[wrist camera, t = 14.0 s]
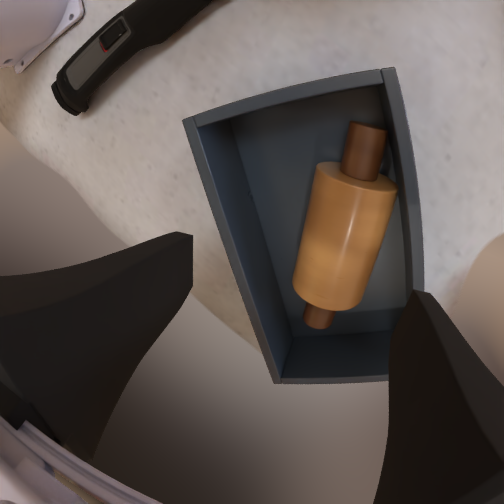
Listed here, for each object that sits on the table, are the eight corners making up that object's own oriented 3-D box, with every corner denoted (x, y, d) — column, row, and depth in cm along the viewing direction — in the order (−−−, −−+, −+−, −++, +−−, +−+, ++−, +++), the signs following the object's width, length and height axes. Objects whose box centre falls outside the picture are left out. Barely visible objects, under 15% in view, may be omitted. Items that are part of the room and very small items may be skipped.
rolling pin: (278, 298, 20) (292, 346, 17) (313, 110, 14) (346, 125, 11) (336, 297, 21) (358, 341, 17) (384, 125, 15) (429, 145, 11)
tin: (288, 338, 23) (273, 384, 19) (220, 111, 17) (181, 119, 13) (414, 329, 20) (419, 378, 16) (384, 73, 13) (394, 66, 10)
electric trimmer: (271, -14, 13) (254, -33, 10) (84, 118, 20) (52, 126, 17) (240, -56, 12) (219, -77, 9) (66, 79, 18) (34, 84, 16)
